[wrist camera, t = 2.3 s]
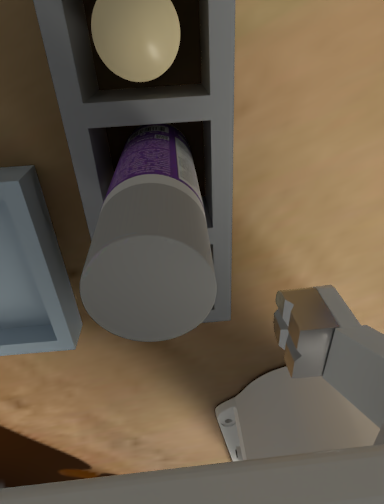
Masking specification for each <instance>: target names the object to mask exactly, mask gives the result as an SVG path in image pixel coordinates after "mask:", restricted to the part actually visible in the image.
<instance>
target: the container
mask: <svg viewBox="0 0 384 504" xmlns="http://www.w3.org/2000/svg"><path fill="white" fill-rule="evenodd" d="M216 292H217V285H216V278H215V272H214V266H213V260H212V254H211V247H210V241H209V235H208V229H207V223H206V216H205V211H204V206H203V202H202V198H201V193H200V189H199V184H198V180H197V175H196V171H195V166H194V162H193V158H192V153H191V149H190V146H189V143H188V141H187V139H186V137H185V136H184V135H183V134H182V132H181V131H180V130H178V129H177V128H176V127H174V126H172V125H170V124H168V123H162V124H147V125H141V126H139V127H138V128H136V129H135V130H134V131H133V132H132V133H131V134H130V136H129V137H128V139H127V141H126V143H125V146H124V148H123V151H122V154H121V156H120V159H119V162H118V164H117V167H116V170H115V172H114V175H113V178H112V181H111V183H110V186H109V189H108V191H107V194H106V197H105V199H104V202H103V205H102V208H101V212H100V215H99V219H98V222H97V225H96V229H95V232H94V235H93V238H92V242H91V245H90V248H89V252H88V255H87V258H86V262H85V265H84V268H83V271H82V275H81V279H80V296H81V300H82V303H83V305H84V307H85V309H86V311H87V312H88V314H89V315H90V316H91V318H92V319H93V320H94V321H95V322H96V323H97V324H99V325H100V326H101V327H103V328H104V329H106V330H107V331H109V332H111V333H113V334H115V335H117V336H120V337H123V338H126V339H130V340H135V341H144V342H155V341H163V340H168V339H172V338H175V337H178V336H181V335H183V334H185V333H187V332H189V331H191V330H192V329H194V328H195V327H197V326H198V325H199V324H200V323H201V322H202V321H203V320H204V319H205V318H206V317H207V315H208V314H209V312H210V311H211V309H212V307H213V305H214V302H215V298H216Z"/></svg>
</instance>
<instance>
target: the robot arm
mask: <svg viewBox="0 0 384 504" xmlns="http://www.w3.org/2000/svg"><path fill="white" fill-rule="evenodd" d="M276 304H277V306H278V310H277V311H276V312H275V313H274V321H273V323H274V332H275V336H276V340H277V342H278V345H279V346H280V347H281V348H283V349H284V350H285V352H284V361H285V363H286V367H282V368H279V369H276V370H273V371H271V372H269V373H266V374H264V375H262V376H261V377H259V378H257V379H256V380H254V381H253V382H251V383H250V384H249V385H248V386H247V387H246V388H245V389H244V390H243V391H241V392H240V393H239V394H238V395H237V396H236V397H234V398H232V399H230V400H228V401H225V402H224V403H222V404H220V405H219V406H217V407H216V409H215V413H216V417H217V420H218V423H219V426H220V429H221V431H222V434H223V437H224V439H225V442H226V445H227V448H228V450H229V453H230V456H231V458H232V461H233V462H225V463H217V464H208V465H200V466H191V467H182V468H174V469H165V470H157V471H148V472H140V473H131V474H123V475H114V476H106V477H97V478H89V479H80V480H72V481H63V482H55V483H47V484H38V485H30V486H21V487H12V488H4V489H0V504H384V334H382V333H380V332H378V331H376V330H375V329H373V328H371V327H369V326H367V325H363V326H361V324H360V323H359V322H358V320H357V319H356V317H355V316H354V314H353V313H352V312H351V310H350V309H349V307H348V306H347V305H346V303H345V302H344V300H343V299H342V297H341V296H340V295H339V293H338V292H337V290H336V289H335V287H333V286H332V285H325V286H316V287H313V288H312V287H310V288H300V289H290V290H280V291H278V292H277V295H276Z"/></svg>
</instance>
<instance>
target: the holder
mask: <svg viewBox="0 0 384 504" xmlns="http://www.w3.org/2000/svg"><path fill="white" fill-rule="evenodd" d="M33 2H34V6H35V10H36V14H37V18H38V22H39V27H40V31H41V35H42V39H43V43H44V47H45V51H46V55H47V60H48V64H49V68H50V72H51V76H52V80H53V84H54V88H55V93H56V97H57V101H58V105H59V109H60V113H61V117H62V121H63V126H64V130H65V134H66V138H67V142H68V146H69V150H70V154H71V159H72V163H73V167H74V171H75V175H76V179H77V183H78V188H79V192H80V196H81V200H82V204H83V208H84V212H85V216H86V221H87V225H88V229H89V233H90V237H91V241H92V238H93V235H94V232H95V229H96V225H97V222H98V219H99V215H100V212H101V208H102V205H103V202H104V199H105V197H106V194H107V191H108V189H109V186H110V183H111V181H112V178H113V175H114V170H113V165H112V159H111V154H110V148H109V143H108V137H107V131H106V127H118V126H132V125H147V124H162V123H177V122H192V121H203V146H204V177H205V196H201V198H202V202H203V206H204V211H205V216H206V223H207V229H208V235H209V241H210V247H211V254H212V260H213V266H214V272H215V278H216V285H217V292H216V298H215V302H214V305H213V307H212V309H211V311H210V312H209V314H208V315H207V317H206V318H205V319H204V320H203V321H202V322H201V323H205V322H217V321H229V320H231V264H232V193H233V123H234V52H235V0H199V21H200V53H201V84H186V85H170V86H154V87H139V88H123V89H107V90H99V87H98V81H97V75H96V70H95V64H94V59H93V53H92V48H91V42H90V36H89V31H88V25H87V20H86V14H85V8H84V3H83V0H33ZM91 31H92V38H93V42H94V45H95V48H96V50H97V52H98V54H99V56H100V58H101V59H102V61H103V62H104V63H105V65H106V66H107V67H108V68H109V69H110V70H111V71H112V72H114V73H115V74H116V75H118V76H120V77H121V78H124V79H126V80H129V81H134V82H145V81H150V80H153V79H155V78H157V77H159V76H160V75H162V74H163V73H164V72H165V71H167V69H168V68H169V67H170V66H171V64H172V63H173V61H174V59H175V57H176V55H177V52H178V49H179V44H180V24H179V19H178V16H177V13H176V10H175V8H174V6H173V4H172V2H171V0H97V1H96V3H95V6H94V8H93V13H92V19H91Z"/></svg>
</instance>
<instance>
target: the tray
mask: <svg viewBox="0 0 384 504" xmlns="http://www.w3.org/2000/svg"><path fill="white" fill-rule="evenodd" d="M82 325H83V324H82V320H81V317H80V314H79V311H78V307H77V304H76V301H75V297H74V294H73V291H72V288H71V284H70V281H69V278H68V274H67V271H66V268H65V265H64V261H63V258H62V255H61V252H60V248H59V245H58V242H57V238H56V235H55V232H54V229H53V225H52V222H51V219H50V215H49V212H48V209H47V206H46V202H45V199H44V196H43V192H42V189H41V186H40V183H39V179H38V176H37V173H36V169H35V166H34V165H30V166H15V167H1V168H0V356H3V355H15V354H27V353H39V352H50V351H62V350H74V349H76V346H77V342H78V339H79V335H80V332H81V328H82Z"/></svg>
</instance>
